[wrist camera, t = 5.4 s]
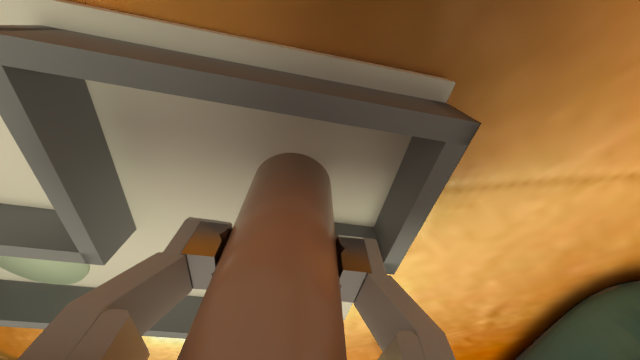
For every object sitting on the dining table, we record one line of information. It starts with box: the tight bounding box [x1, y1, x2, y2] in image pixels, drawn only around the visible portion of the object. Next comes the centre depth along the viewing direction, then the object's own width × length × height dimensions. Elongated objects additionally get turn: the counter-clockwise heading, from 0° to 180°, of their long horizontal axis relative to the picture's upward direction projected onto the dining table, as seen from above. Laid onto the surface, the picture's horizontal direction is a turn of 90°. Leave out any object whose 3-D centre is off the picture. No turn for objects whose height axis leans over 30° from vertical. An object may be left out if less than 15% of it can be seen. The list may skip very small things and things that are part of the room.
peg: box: [177, 153, 347, 360], centre depth 8 cm, size 4×4×10 cm
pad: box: [0, 256, 90, 285], centre depth 18 cm, size 7×7×1 cm
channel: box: [0, 0, 481, 339], centre depth 15 cm, size 31×23×4 cm
